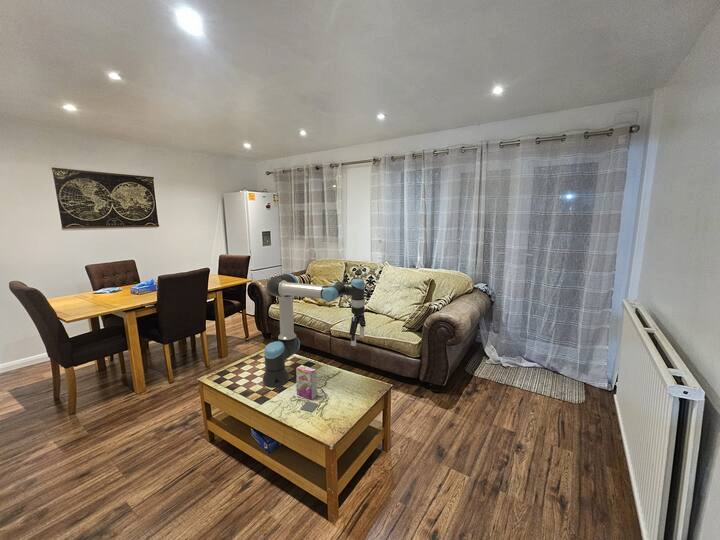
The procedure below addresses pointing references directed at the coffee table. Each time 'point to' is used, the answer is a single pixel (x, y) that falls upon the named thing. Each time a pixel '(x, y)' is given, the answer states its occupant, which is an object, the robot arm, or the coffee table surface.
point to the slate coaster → (309, 406)
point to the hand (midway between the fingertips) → (357, 341)
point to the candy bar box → (306, 382)
